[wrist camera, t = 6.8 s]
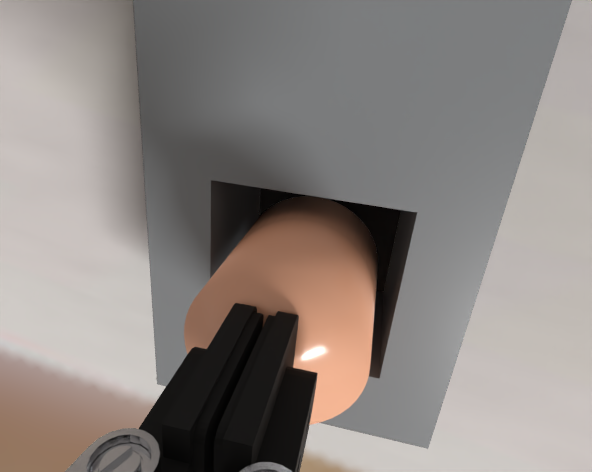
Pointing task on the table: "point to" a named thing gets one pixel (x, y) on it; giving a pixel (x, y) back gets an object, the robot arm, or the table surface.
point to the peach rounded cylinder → (303, 293)
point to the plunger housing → (342, 156)
